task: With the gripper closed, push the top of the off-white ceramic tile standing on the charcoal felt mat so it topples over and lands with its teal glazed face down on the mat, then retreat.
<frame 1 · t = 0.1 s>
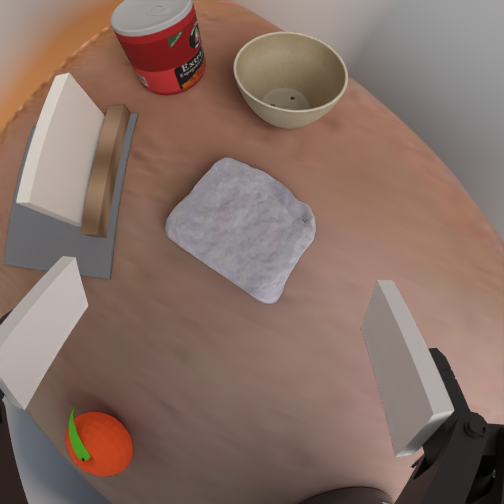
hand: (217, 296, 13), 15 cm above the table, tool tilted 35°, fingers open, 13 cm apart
stone block: (246, 228, 29), on the table
canned food: (173, 73, 31), on the table
tile: (92, 171, 29), resting on mat
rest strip: (109, 171, 29), resting on mat
mat: (61, 190, 30), on the table
clementine: (111, 426, 27), on the table
flower pot: (285, 109, 30), on the table
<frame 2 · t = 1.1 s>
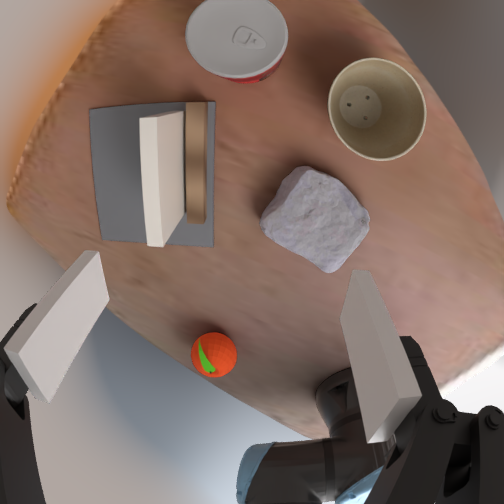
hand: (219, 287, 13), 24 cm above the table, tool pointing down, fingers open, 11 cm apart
stone block: (317, 211, 38), on the table
canned food: (245, 51, 29), on the table
tile: (179, 161, 35), resting on mat
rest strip: (198, 161, 35), resting on mat
mat: (149, 176, 36), on the table
clementine: (215, 336, 48), on the table
flower pot: (358, 105, 31), on the table
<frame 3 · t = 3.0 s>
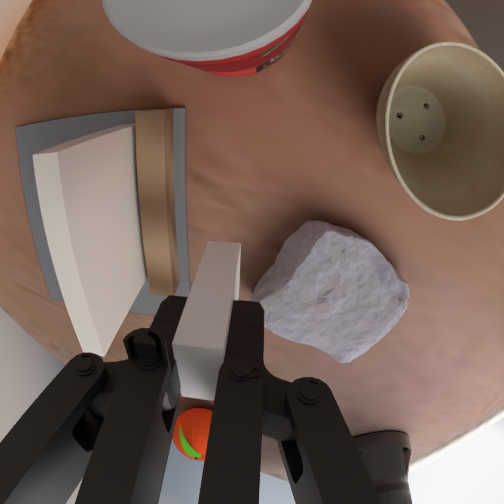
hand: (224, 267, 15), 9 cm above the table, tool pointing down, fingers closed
stone block: (335, 280, 26), on the table
canned food: (234, 26, 17), on the table
tile: (135, 202, 22), resting on mat
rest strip: (162, 202, 22), resting on mat
mat: (96, 222, 24), on the table
clementine: (202, 408, 36), on the table
flower pot: (412, 117, 19), on the table
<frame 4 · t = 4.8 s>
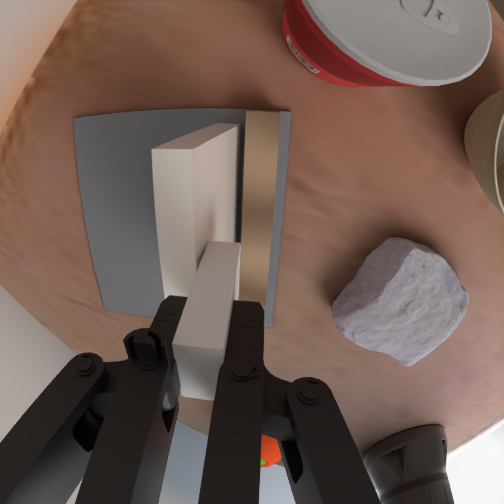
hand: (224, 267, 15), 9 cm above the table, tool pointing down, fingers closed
stone block: (403, 291, 26), on the table
canned food: (340, 34, 16), on the table
tile: (227, 207, 22), resting on mat, tilted 5°
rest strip: (258, 209, 22), resting on mat
mat: (175, 228, 23), on the table
clementine: (260, 415, 35), on the table
flower pot: (484, 137, 18), on the table
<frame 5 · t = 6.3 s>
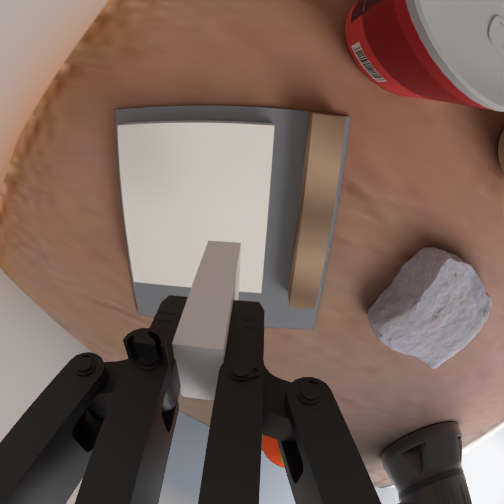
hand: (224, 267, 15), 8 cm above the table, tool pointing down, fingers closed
stone block: (432, 297, 26), on the table
canned food: (395, 44, 16), on the table
tile: (267, 213, 21), point 1 cm above the table, tilted 90°, touching mat
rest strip: (312, 212, 22), resting on mat
mat: (224, 229, 23), on the table
clementine: (288, 415, 35), on the table
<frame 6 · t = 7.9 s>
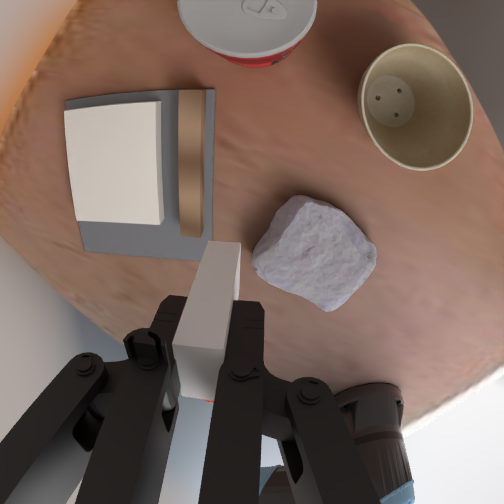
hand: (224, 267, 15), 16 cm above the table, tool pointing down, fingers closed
stone block: (317, 243, 33), on the table
canned food: (253, 29, 22), on the table
tile: (159, 164, 28), point 1 cm above the table, tilted 90°, touching mat
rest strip: (194, 162, 28), resting on mat
mat: (136, 179, 30), on the table
flower pot: (388, 99, 25), on the table
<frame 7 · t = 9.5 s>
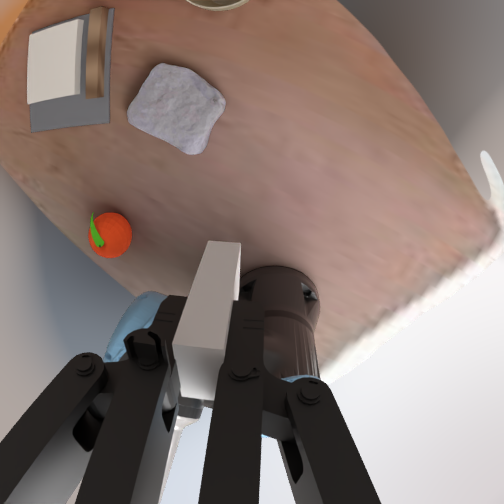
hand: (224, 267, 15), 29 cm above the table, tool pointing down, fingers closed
stone block: (181, 104, 38), on the table
tile: (78, 55, 32), point 1 cm above the table, tilted 90°, touching mat
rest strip: (99, 52, 33), resting on mat
mat: (66, 71, 34), on the table
clementine: (118, 222, 47), on the table
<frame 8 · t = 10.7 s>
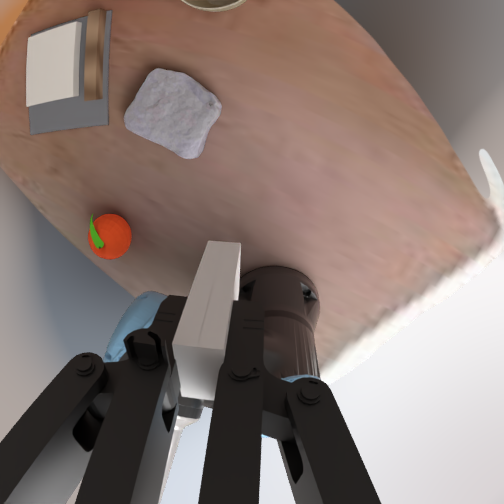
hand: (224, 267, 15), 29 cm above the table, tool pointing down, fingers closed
stone block: (178, 108, 38), on the table
tile: (76, 58, 33), point 1 cm above the table, tilted 90°, touching mat
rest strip: (97, 54, 33), resting on mat
mat: (65, 74, 35), on the table
clementine: (117, 223, 47), on the table
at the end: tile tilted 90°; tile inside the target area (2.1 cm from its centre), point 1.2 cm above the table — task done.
